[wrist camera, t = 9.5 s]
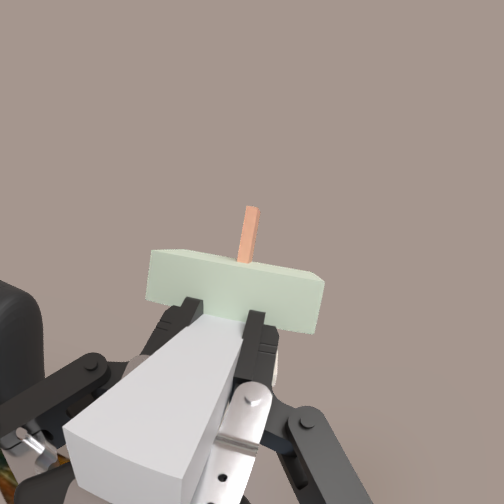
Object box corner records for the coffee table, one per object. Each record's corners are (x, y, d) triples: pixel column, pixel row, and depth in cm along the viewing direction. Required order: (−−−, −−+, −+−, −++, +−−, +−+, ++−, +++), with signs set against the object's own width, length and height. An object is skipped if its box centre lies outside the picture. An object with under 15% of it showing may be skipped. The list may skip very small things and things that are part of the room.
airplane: (-7, 423, 4) (-1, 108, 3) (176, 313, 18) (193, 202, 18) (332, 547, 3) (466, 134, 3) (298, 337, 17) (320, 223, 17)
